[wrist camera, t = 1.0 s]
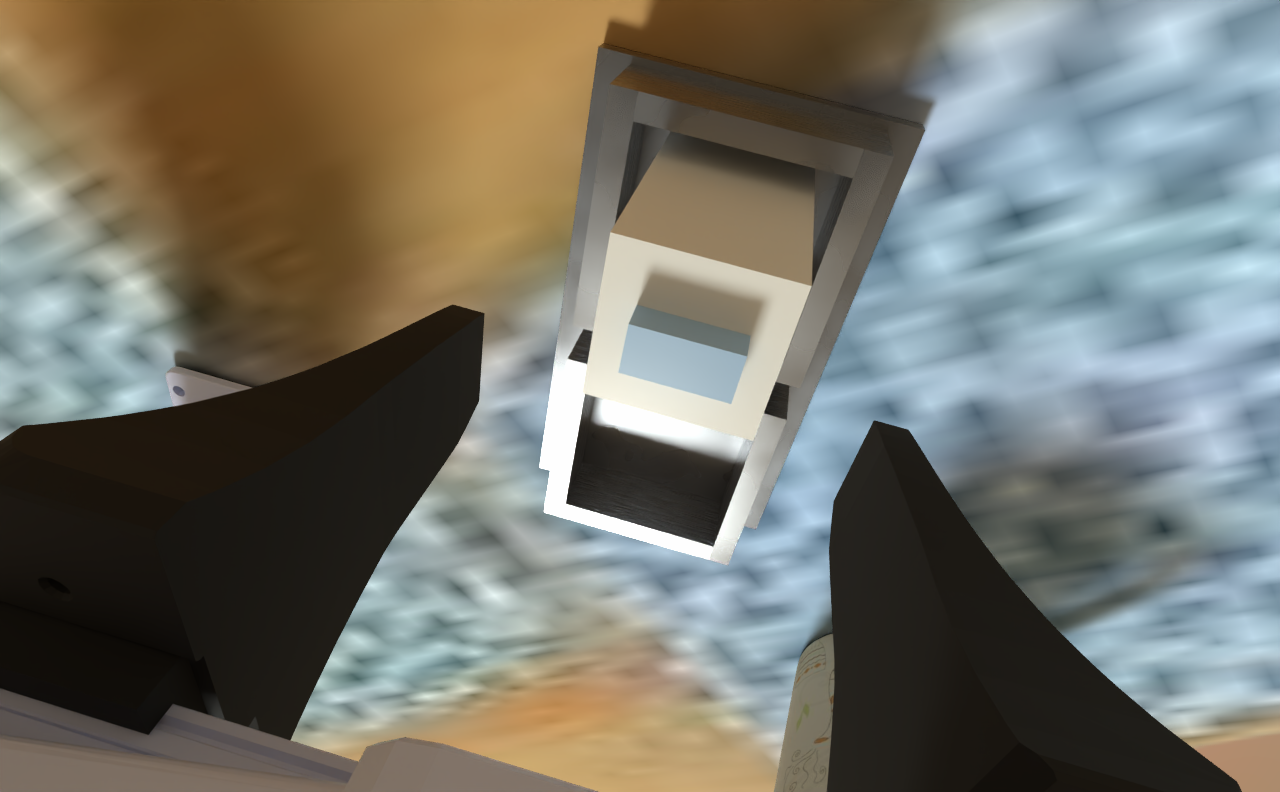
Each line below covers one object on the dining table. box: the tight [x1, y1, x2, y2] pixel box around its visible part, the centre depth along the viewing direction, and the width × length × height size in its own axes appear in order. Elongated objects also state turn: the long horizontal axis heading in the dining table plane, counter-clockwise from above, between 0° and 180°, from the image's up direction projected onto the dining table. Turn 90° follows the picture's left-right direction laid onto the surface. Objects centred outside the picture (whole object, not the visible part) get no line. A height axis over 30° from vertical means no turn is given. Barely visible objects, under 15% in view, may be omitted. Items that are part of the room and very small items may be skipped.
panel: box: [540, 43, 925, 565], centre depth 22 cm, size 15×9×3 cm, turn 169°
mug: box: [774, 633, 834, 792], centre depth 27 cm, size 8×13×10 cm, turn 121°
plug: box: [582, 131, 815, 441], centre depth 18 cm, size 4×4×8 cm
